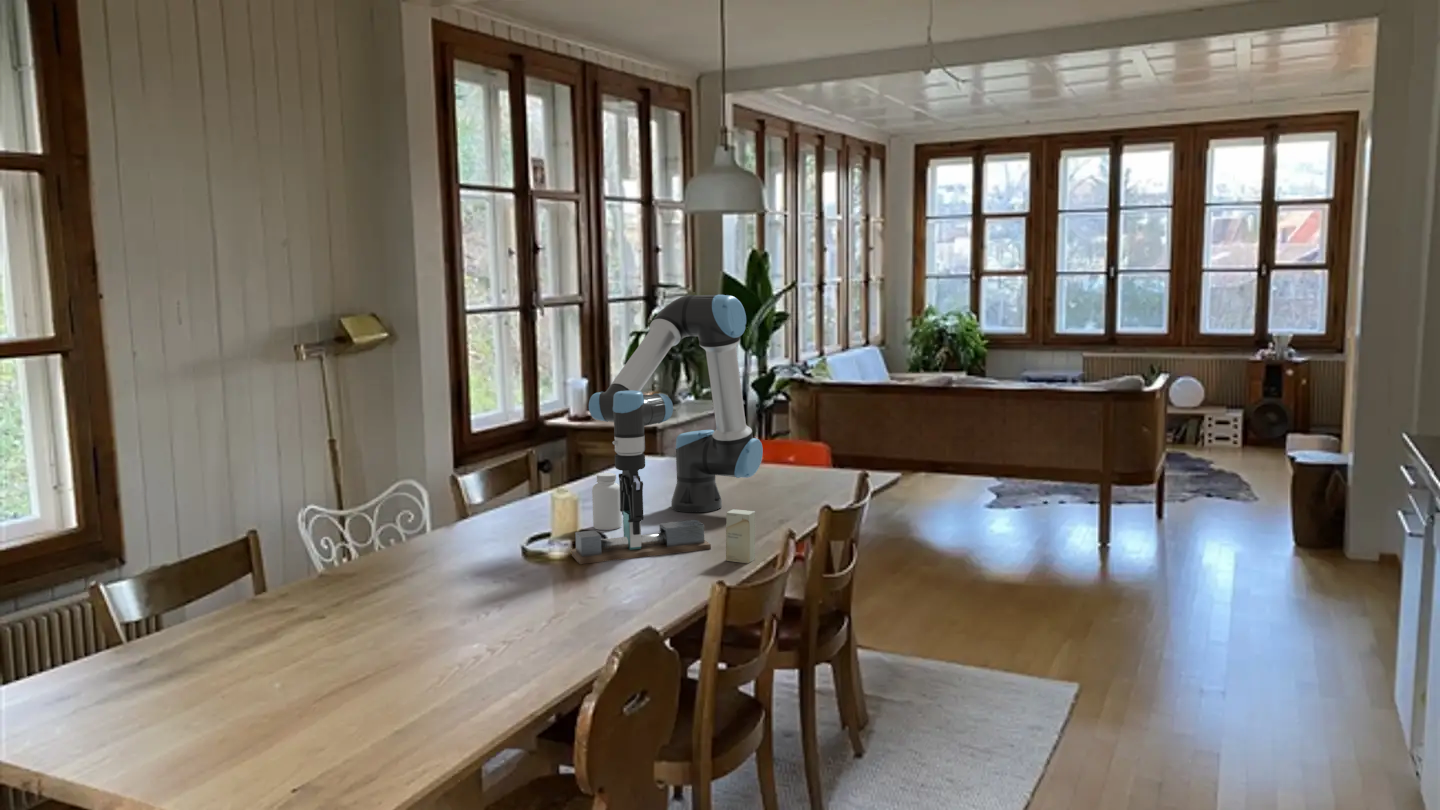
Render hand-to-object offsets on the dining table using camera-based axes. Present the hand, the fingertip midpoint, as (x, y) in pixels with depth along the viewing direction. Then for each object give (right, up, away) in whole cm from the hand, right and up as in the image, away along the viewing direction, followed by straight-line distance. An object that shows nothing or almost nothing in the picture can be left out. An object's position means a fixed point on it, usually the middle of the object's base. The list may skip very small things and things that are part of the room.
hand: (632, 543), depth 262 cm
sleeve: (+12, 0, +5) cm, 13 cm away
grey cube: (-11, -2, -4) cm, 11 cm away
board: (+2, -2, +1) cm, 3 cm away
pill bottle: (-9, +1, +28) cm, 29 cm away
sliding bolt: (+3, -1, +1) cm, 3 cm away
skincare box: (+27, -3, -9) cm, 29 cm away
